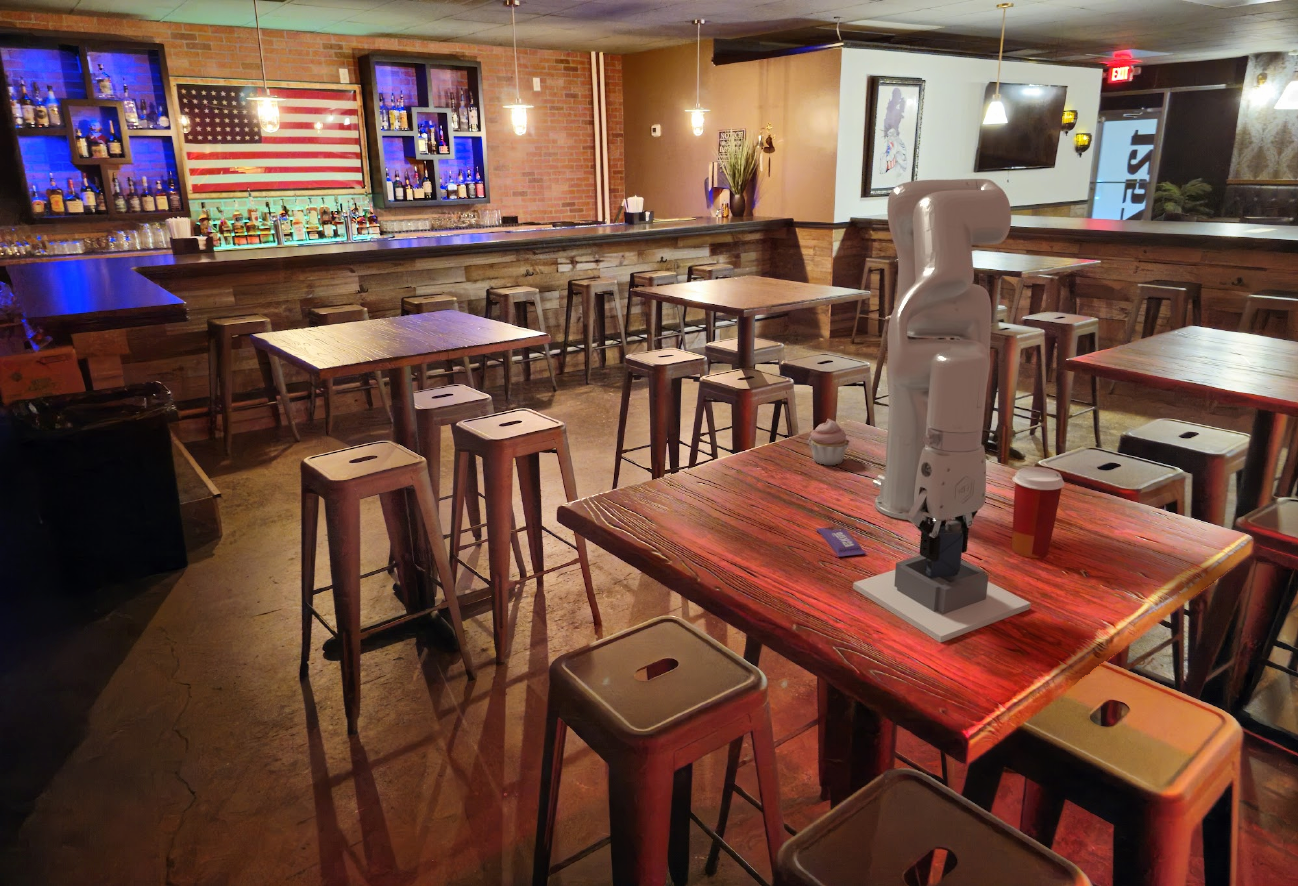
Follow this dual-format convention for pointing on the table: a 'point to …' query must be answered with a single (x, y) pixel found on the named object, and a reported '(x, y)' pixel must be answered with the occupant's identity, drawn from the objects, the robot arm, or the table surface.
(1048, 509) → the paper cup
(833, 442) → the cupcake
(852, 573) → the table surface
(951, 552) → the vaping device
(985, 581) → the dock
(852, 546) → the snack package
